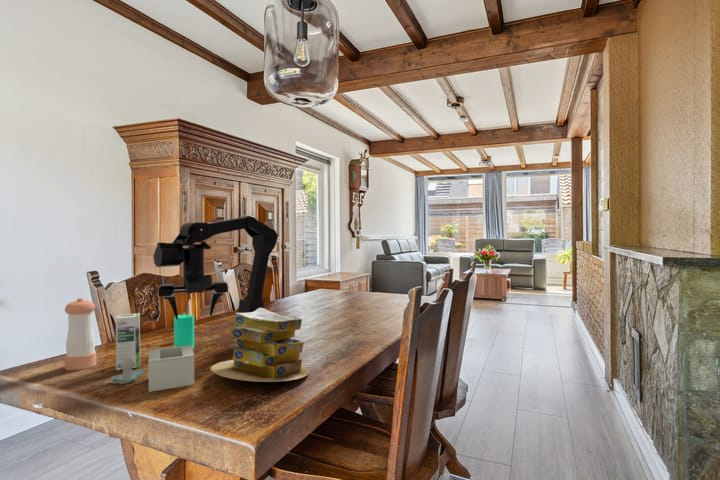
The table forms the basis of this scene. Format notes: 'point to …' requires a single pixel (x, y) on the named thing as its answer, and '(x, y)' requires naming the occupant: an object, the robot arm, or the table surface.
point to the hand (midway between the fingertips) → (193, 317)
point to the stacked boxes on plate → (264, 348)
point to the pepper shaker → (80, 336)
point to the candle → (184, 330)
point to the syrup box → (128, 339)
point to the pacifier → (127, 373)
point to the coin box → (171, 367)
